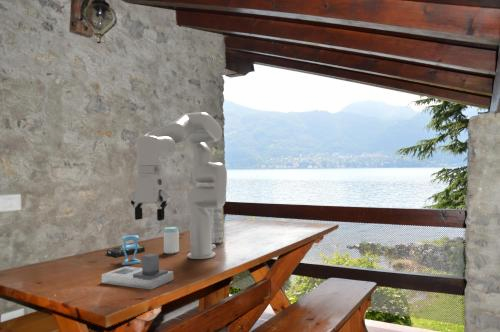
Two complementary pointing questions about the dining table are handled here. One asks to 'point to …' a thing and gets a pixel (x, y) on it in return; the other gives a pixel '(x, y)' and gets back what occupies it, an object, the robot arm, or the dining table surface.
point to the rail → (134, 278)
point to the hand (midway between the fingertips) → (149, 219)
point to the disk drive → (119, 251)
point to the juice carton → (217, 224)
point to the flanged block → (150, 267)
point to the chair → (126, 238)
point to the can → (171, 240)
